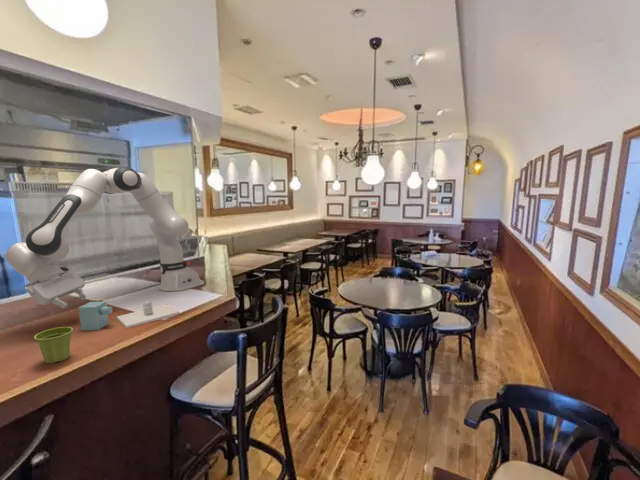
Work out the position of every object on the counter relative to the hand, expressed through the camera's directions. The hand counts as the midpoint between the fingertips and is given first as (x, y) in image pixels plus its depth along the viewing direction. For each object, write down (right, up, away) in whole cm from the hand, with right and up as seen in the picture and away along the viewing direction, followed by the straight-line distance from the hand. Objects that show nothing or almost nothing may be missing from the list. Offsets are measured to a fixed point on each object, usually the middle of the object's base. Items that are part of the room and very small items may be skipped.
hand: (75, 302), depth 127 cm
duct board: (+22, -8, +11) cm, 26 cm away
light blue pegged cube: (+8, -10, +1) cm, 13 cm away
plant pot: (+11, -14, -23) cm, 29 cm away
